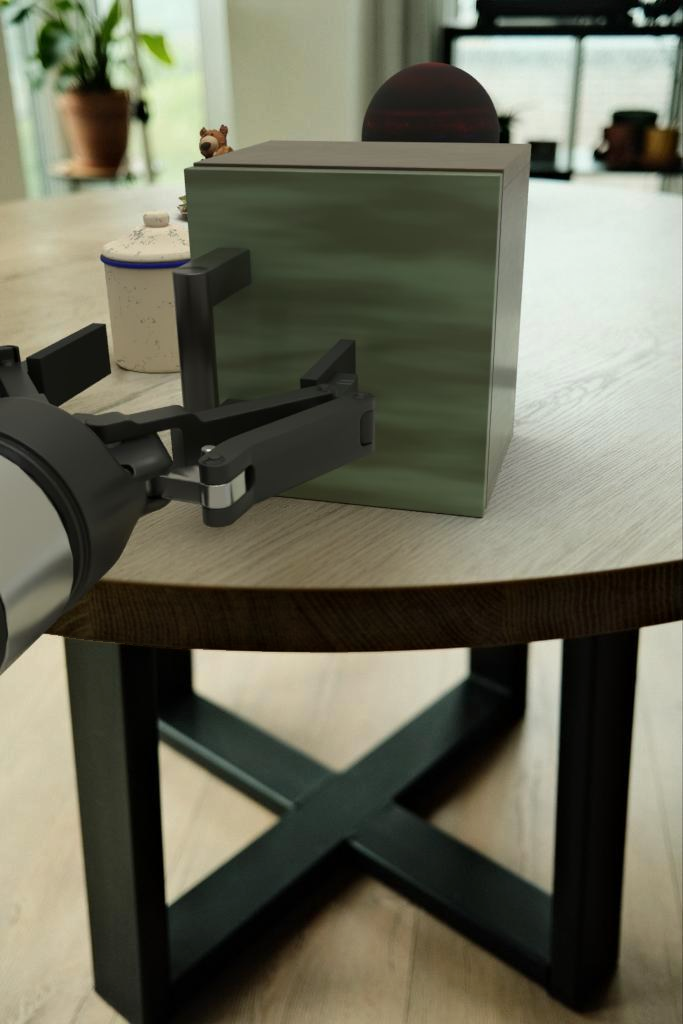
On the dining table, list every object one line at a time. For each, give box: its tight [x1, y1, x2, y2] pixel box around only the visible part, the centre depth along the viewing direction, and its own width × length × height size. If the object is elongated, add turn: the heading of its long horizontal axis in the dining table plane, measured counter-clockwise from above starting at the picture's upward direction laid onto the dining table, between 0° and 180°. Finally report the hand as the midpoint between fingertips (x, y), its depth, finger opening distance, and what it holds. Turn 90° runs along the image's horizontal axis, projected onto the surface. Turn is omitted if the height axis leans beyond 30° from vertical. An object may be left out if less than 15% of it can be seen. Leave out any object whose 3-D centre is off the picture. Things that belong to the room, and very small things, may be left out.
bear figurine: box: [176, 124, 235, 215], centre depth 146 cm, size 14×15×12 cm
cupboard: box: [192, 139, 532, 510], centre depth 59 cm, size 12×16×18 cm
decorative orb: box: [361, 62, 500, 143], centre depth 148 cm, size 20×20×20 cm
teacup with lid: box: [99, 210, 191, 374], centre depth 82 cm, size 12×9×12 cm
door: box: [172, 165, 503, 518], centre depth 51 cm, size 7×16×18 cm, turn 74°
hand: (221, 356), depth 52 cm, fingers open, 13 cm apart
